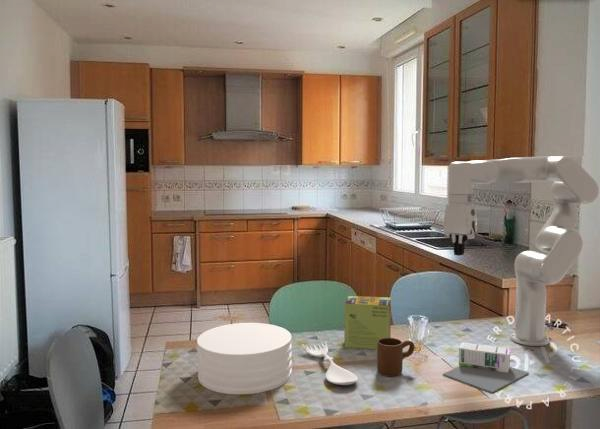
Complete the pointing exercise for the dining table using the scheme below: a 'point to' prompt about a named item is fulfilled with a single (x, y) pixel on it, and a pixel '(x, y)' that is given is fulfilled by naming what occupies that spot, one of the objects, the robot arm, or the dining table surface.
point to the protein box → (367, 321)
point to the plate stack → (244, 358)
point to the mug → (392, 355)
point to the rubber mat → (485, 377)
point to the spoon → (332, 367)
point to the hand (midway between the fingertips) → (458, 254)
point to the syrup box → (484, 357)
